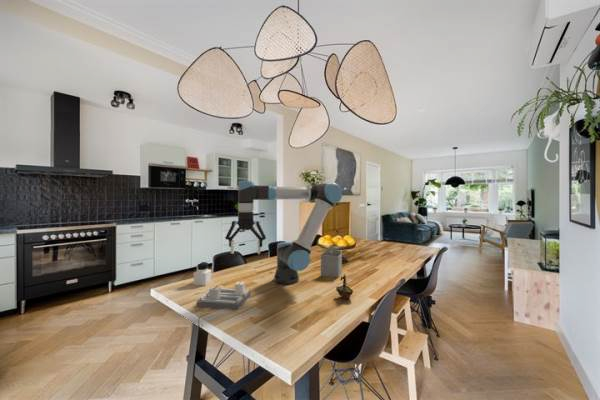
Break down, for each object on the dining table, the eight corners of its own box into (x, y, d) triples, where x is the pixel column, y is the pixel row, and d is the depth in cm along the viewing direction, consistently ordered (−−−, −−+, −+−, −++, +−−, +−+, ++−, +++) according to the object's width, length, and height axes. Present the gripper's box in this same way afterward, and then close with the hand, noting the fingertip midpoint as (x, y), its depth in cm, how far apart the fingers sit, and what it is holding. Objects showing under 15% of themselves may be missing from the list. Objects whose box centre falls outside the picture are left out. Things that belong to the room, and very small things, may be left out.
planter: (327, 279, 147) (327, 248, 147) (320, 275, 154) (320, 245, 154) (348, 276, 154) (348, 246, 154) (341, 272, 161) (341, 244, 161)
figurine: (356, 301, 116) (356, 276, 116) (341, 303, 114) (342, 278, 114) (346, 293, 126) (347, 270, 126) (333, 295, 123) (333, 271, 123)
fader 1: (220, 297, 114) (221, 286, 114) (217, 300, 110) (217, 289, 110) (213, 296, 114) (213, 286, 114) (209, 300, 110) (209, 288, 110)
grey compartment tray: (250, 295, 122) (250, 288, 122) (238, 309, 106) (238, 302, 106) (213, 292, 125) (213, 286, 125) (196, 306, 109) (196, 299, 109)
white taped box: (245, 292, 120) (245, 281, 120) (242, 294, 117) (242, 284, 117) (237, 291, 121) (237, 281, 121) (234, 294, 117) (234, 283, 117)
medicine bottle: (211, 281, 141) (211, 261, 141) (205, 285, 134) (205, 264, 134) (199, 281, 142) (199, 260, 142) (193, 285, 135) (193, 264, 135)
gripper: (271, 211, 124) (271, 251, 125) (224, 211, 125) (223, 251, 125) (269, 212, 117) (269, 255, 117) (218, 211, 117) (218, 254, 118)
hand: (245, 253), depth 121 cm, fingers open, 13 cm apart
